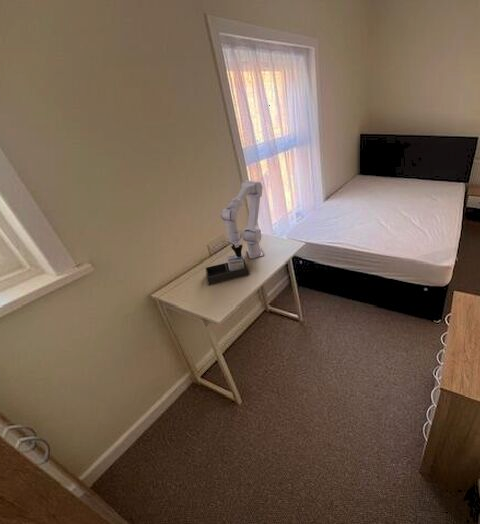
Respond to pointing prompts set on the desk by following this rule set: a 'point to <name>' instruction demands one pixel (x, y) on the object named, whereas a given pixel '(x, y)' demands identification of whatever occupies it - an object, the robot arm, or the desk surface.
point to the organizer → (224, 273)
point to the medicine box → (235, 263)
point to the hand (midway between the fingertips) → (238, 253)
